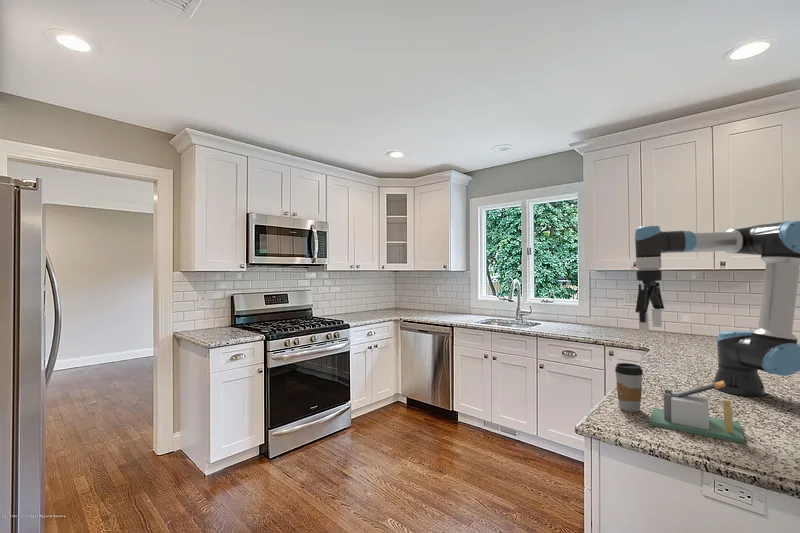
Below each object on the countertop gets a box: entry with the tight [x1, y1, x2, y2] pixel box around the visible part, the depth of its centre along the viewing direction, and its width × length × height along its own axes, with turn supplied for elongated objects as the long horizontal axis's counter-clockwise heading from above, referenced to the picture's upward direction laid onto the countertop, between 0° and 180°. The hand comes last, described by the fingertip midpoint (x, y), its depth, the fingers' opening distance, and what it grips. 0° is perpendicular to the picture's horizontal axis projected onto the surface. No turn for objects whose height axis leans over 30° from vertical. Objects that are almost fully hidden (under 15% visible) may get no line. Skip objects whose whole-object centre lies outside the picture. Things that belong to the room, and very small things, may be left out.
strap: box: [671, 380, 725, 398], centre depth 117 cm, size 16×4×1 cm, turn 52°
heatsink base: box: [649, 388, 745, 444], centre depth 117 cm, size 22×14×9 cm, turn 52°
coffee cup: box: [614, 362, 644, 413], centre depth 132 cm, size 8×8×15 cm
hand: (650, 329), depth 135 cm, fingers open, 13 cm apart
